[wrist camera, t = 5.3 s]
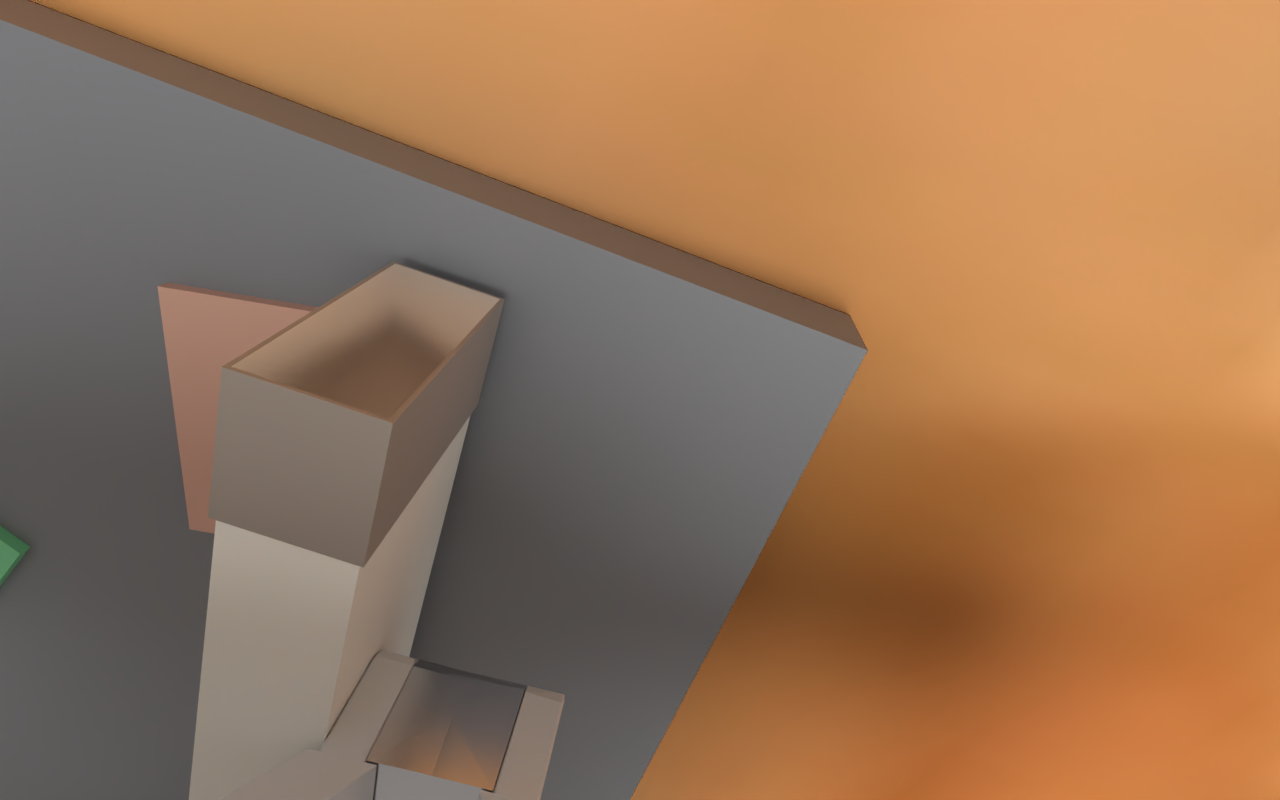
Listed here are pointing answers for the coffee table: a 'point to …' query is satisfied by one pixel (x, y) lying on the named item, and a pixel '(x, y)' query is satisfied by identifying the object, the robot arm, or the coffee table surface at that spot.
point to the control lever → (329, 509)
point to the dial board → (285, 292)
